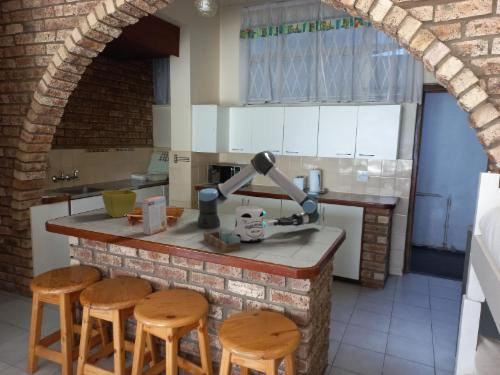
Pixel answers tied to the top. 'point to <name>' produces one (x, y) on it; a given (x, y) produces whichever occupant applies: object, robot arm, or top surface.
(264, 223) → the donuts
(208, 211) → the robot arm
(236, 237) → the block
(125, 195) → the flower pot
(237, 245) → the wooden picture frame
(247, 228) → the milk container
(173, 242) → the top surface
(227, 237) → the block
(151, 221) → the cracker box
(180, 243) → the top surface
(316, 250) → the top surface
